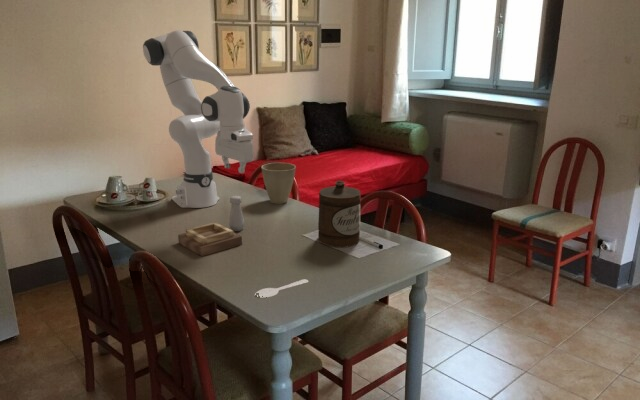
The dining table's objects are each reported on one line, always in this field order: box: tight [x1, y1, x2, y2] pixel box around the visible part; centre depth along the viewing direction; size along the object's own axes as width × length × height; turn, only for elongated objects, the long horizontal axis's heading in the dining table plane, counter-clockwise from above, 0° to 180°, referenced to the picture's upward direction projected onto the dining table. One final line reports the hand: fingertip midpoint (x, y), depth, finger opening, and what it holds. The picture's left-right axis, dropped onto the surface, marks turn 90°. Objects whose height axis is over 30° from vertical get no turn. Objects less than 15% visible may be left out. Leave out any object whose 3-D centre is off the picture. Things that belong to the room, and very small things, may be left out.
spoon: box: [254, 278, 310, 299], centre depth 153 cm, size 5×18×1 cm, turn 126°
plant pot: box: [261, 162, 296, 205], centre depth 231 cm, size 15×15×16 cm
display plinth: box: [177, 221, 243, 257], centre depth 184 cm, size 16×16×5 cm
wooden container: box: [317, 180, 361, 248], centre depth 186 cm, size 15×15×22 cm
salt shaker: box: [228, 195, 245, 232], centre depth 197 cm, size 6×6×13 cm
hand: (234, 170), depth 192 cm, fingers open, 8 cm apart
